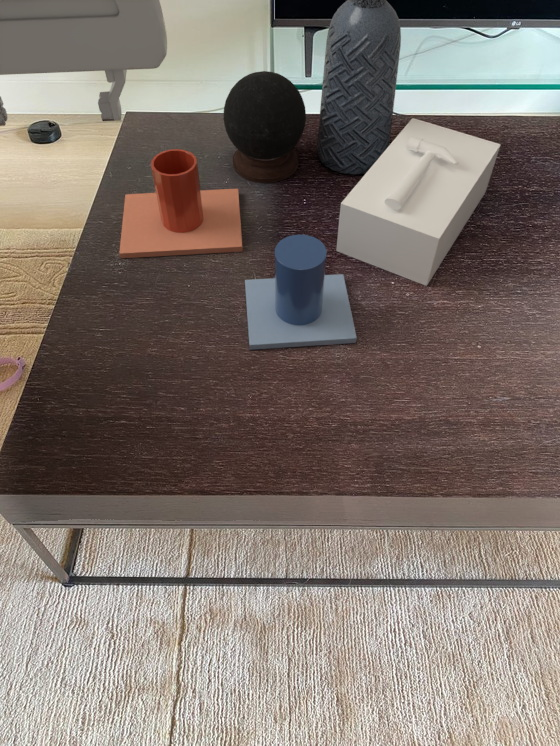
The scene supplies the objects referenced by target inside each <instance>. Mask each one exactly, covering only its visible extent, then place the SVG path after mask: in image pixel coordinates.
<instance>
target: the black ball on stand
mask: <svg viewBox="0 0 560 746" xmlns="http://www.w3.org/2000/svg"><path fill="white" fill-rule="evenodd" d="M306 112H307V111H306V106H305V102H304V99H303V96H302V95H301V92H300V90H299V89H298V88H297V87H296V85H295V84H294V83H293V82H292V81H291V80H290V79H289V78H287V77H286V76H284V75H282V74H280V73H277V72H274V71H268V70H262V71H255V72H251V73H248V74H247V75H244V76H243V77H242V78H241V79H239V80H238V81H237V82H236V83H235V84H234V85H233V86H232V88H231V89H230V90H229V93H228V95H227V97H226V99H225V102H224V106H223V124H224V128H225V132H226V134H227V137H228V138H229V140H230V142H231V143H232V145H233V146H234V148H236V149H237V150H236V151H235V152H234V154H233V155H232V166H233V167H232V168H233V170H234V171H235V173H236V174H237V175H238V176H239V177H241V178H243V179H245V180H247V181H250V182H254V183H260V184H270V183H276V182H281V181H283V180H287V179H288V178H289V177H291V176H293V175H294V174H296V171H297V170H298V169H299V155H298V152H297V150H296V149H294V148H295V147H296V146H297V144H298V143H299V142H300V140H301V138H302V136H303V134H304V130H305V128H306V121H307V113H306Z"/></svg>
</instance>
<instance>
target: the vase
mask: <svg viewBox="0 0 560 746" xmlns="http://www.w3.org/2000/svg"><path fill="white" fill-rule="evenodd" d="M328 26H329V27H328V30H327V36H326V43H325V55H324V65H323V75H322V84H321V85H322V88H321V96H320V98H321V99H320V108H319V117H318V118H319V119H318V129H317V130H318V131H317V140H316V141H317V142H316V145H317V146H316V152H317V157H318V159H319V161H320V162H321V163H322V165H324V166H325V167H326V168H328V169H330V170H332V171H334V172H337V173H340V174H345V175H363V174H364V175H365V174H366V173H367V172H368V170H369V169H370V168H371V167H372V166H373V164H374V163H375V162H376V161H377V160H378V158H379V157H380V156H381V155H382V154H383V152H384V151H385V150H386V149H387V148H388V147H389V145H390V144H391V143H390V142H391V133H392V124H393V116H394V107H395V97H396V89H397V79H398V72H399V64H400V55H401V48H402V47H401V44H402V28H401V23H400V18H399V16H398V14H397V12H396V10H395V9H394V7H393V6H392V5H391V4H390V3H389V1H387V0H345V2H343V3H342V4H341V5H340V6H339V7H338V8H337V10H336V11H335V13H334V14H333V15H332V18H331V21H330V23H329V25H328Z"/></svg>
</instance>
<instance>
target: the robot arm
mask: <svg viewBox="0 0 560 746" xmlns="http://www.w3.org/2000/svg"><path fill="white" fill-rule="evenodd" d="M160 1H161V0H0V76H6V75H8V76H9V75H31V74H54V73H55V74H56V73H57V74H58V73H79V72H80V73H81V72H83V73H84V72H104V73H105V78H106V82H108V83H111V86H110V89H109V91H100V92H99V94H98V97H99V98H98V100H97V105H98V110H99V112H100V117H101V121H102V122H118V121H122V113H123V112H122V105H121V101H120V97H121V95H122V92H123V89H124V87H125V84H126V81H127V80H126V79H127V72H128V70H132V71H133V70H153V69H154V70H155V69H157V68H159V67H160V66H161V65H162V63H163V62H164V60H165V58H166V57H167V53H168V35H167V28H166V24H165V19H164V18H165V17H164V13H163V9H162V6H161V2H160ZM7 121H8V113H7V109H6V108H5V107H4V101H3V99H2V96H1V95H0V127H4V126H6V122H7Z"/></svg>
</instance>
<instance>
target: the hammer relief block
mask: <svg viewBox="0 0 560 746" xmlns="http://www.w3.org/2000/svg"><path fill="white" fill-rule="evenodd" d="M501 145H502V144H501V143H498V142H494V141H492V140H487V139H484V138H481V137H478V136H474V135H471V134H467V133H465V132H462V131H458V130H454V129H451V128H448V127H444V126H440V125H438V124H434V123H431V122H427V121H424V120H421V119H418V118H415V117H414V118H413V117H412V118H411V119H410V120H409V121H408V123H407V124H406V125H405V126H404V128H402V130H401V131H400V132H399V133H398V134H397V136H396V137H395V138H394V139H393V140H392V142H391V143H389V147H388V148H387V149H386V150H385V151H384V152H383V154H382V155H381V156H380V157H379V158H378V160H377V161H376V162H375V163H374V164H373V166H372V167H371V168H370V169H369V170H368V172H367V173H364V175H363V176H362V177H361V178H360V179H359V181H358V182H357V183H356V184H355V185H354V186H353V188H352V189H351V190H350V192H349V193H347V195H346V196H345V197H344V198H343V200H342V201H341V202H340V206H339V218H338V227H337V228H338V229H337V239H336V249H335V251H336V252H338V253H340V254H343V255H345V256H348V257H351V258H353V259H356V260H358V261H361V262H364V263H366V264H368V265H372V266H373V267H377V268H379V269H382V270H383V271H387V272H389V273H392V274H395V275H397V276H400V277H402V278H405V279H407V280H410V281H413V282H415V283H418V284H420V285H423V286H425V287H427V286H428V285H429V283H430V281H431V280H432V278H433V277H434V275H435V274H436V271H437V270H438V269H439V267H441V264H442V262H443V261H444V259H445V258H446V256H447V254H448V253H449V252H450V250H451V248H452V246H453V245H454V244H455V242H456V240H457V239H458V237H459V235H460V234H461V232H462V231H463V229H464V227H465V226H466V224H467V223H468V222H469V219H470V218H471V216H472V215H473V213H474V211H475V210H476V208H477V206H479V204H480V202H481V200H482V199H483V197H484V195H486V192H487V189H488V186H489V183H490V180H491V177H492V173H493V171H494V166H495V164H496V161H497V158H498V154H499V152H500V149H501Z"/></svg>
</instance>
